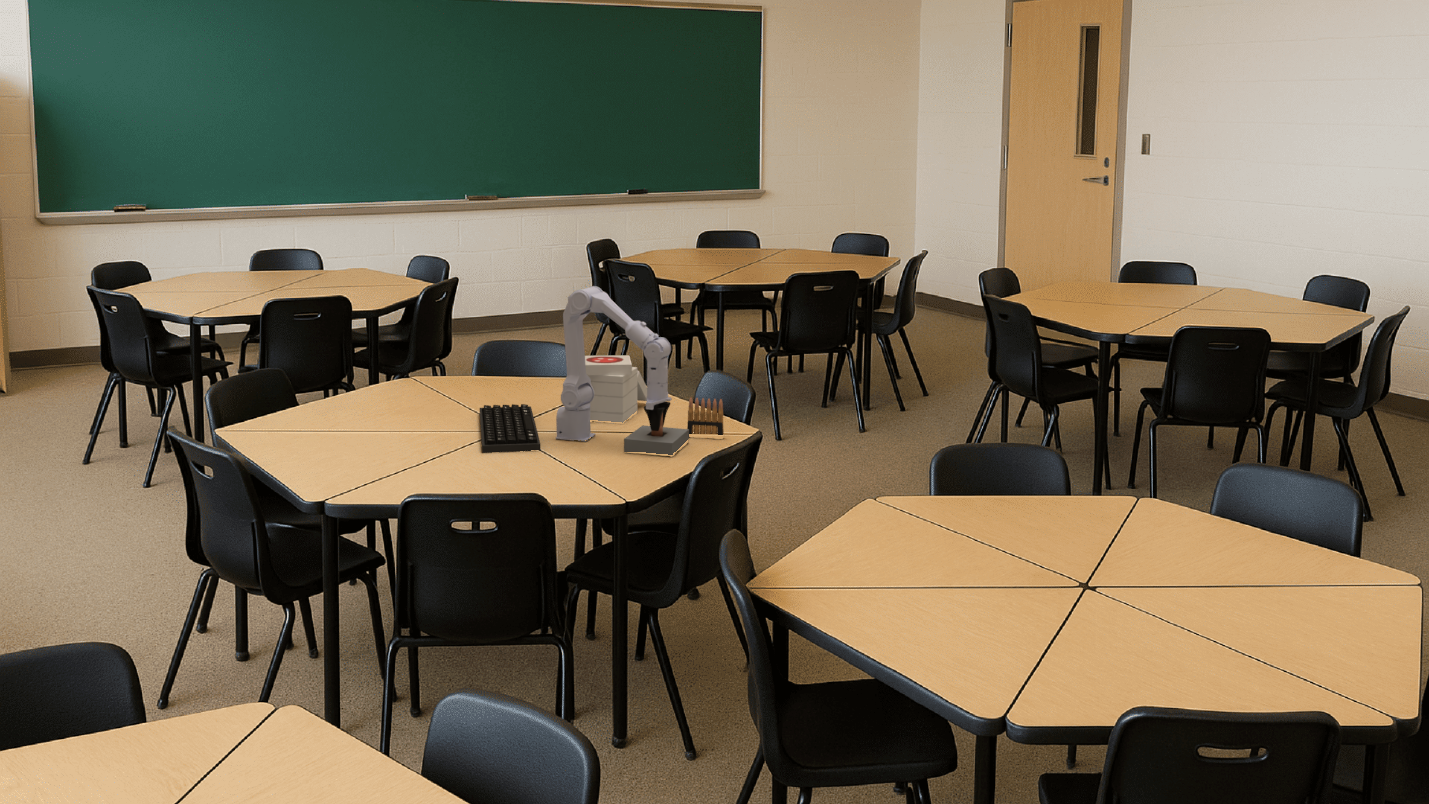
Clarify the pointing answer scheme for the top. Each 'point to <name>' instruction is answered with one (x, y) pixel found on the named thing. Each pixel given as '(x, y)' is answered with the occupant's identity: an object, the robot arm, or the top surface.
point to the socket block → (656, 440)
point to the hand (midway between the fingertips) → (657, 429)
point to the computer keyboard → (508, 429)
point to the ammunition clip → (705, 417)
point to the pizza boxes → (614, 387)
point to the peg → (660, 432)
